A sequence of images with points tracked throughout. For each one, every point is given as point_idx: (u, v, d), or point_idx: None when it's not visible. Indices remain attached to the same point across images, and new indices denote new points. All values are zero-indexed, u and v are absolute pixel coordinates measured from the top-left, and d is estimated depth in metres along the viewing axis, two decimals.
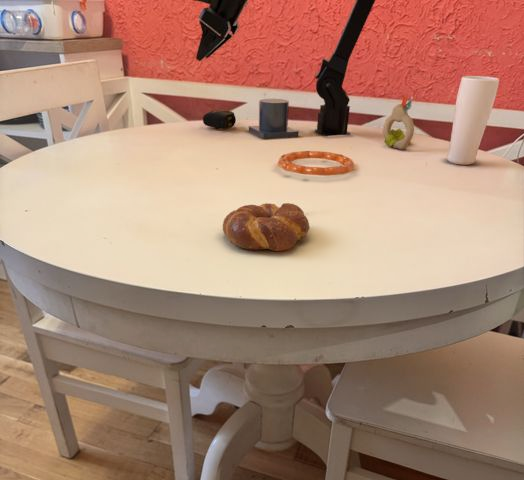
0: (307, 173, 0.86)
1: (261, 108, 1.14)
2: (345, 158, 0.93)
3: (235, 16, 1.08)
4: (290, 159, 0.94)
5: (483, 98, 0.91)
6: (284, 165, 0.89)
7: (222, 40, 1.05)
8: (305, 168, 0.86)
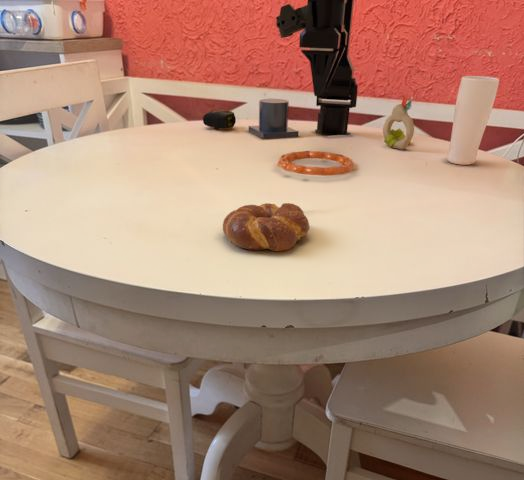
0: (307, 173, 0.86)
1: (261, 108, 1.14)
2: (345, 158, 0.93)
3: (339, 20, 0.83)
4: (290, 159, 0.94)
5: (484, 98, 0.91)
6: (284, 165, 0.89)
7: (336, 54, 0.81)
8: (305, 168, 0.86)
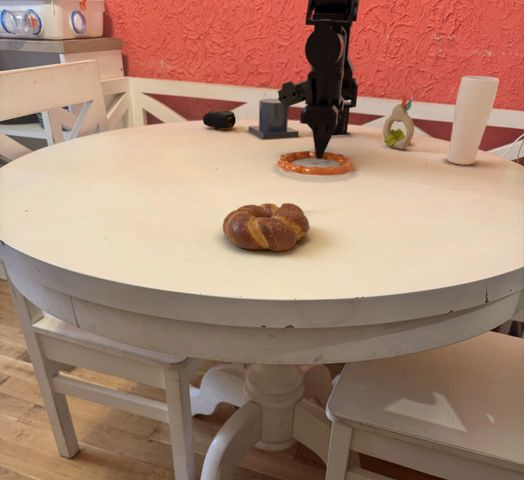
0: (306, 173, 0.86)
1: (261, 108, 1.14)
2: (345, 158, 0.93)
3: (337, 94, 0.89)
4: (290, 159, 0.94)
5: (483, 98, 0.91)
6: (284, 164, 0.89)
7: (336, 125, 0.90)
8: (304, 168, 0.86)
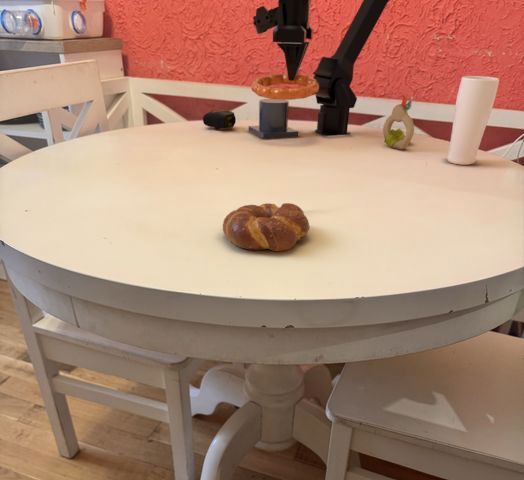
0: (274, 94, 0.99)
1: (261, 108, 1.14)
2: (312, 80, 1.04)
3: (305, 19, 1.01)
4: (264, 82, 1.06)
5: (483, 98, 0.91)
6: (256, 87, 1.02)
7: (305, 46, 1.02)
8: (272, 89, 0.99)
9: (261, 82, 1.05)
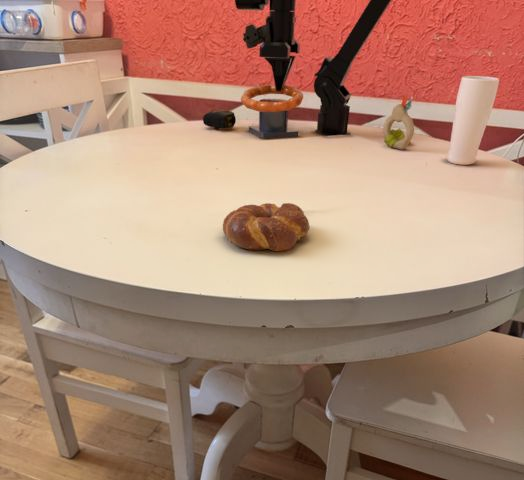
0: (260, 107, 1.10)
1: None
2: (296, 91, 1.14)
3: (290, 35, 1.11)
4: (253, 93, 1.16)
5: (483, 98, 0.91)
6: (244, 100, 1.12)
7: (290, 60, 1.12)
8: (258, 103, 1.10)
9: (250, 94, 1.15)
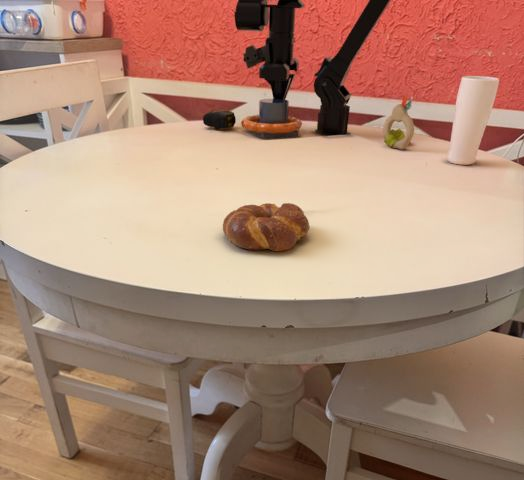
0: (260, 128, 1.13)
1: (261, 108, 1.14)
2: (295, 119, 1.18)
3: (289, 56, 1.13)
4: (253, 120, 1.20)
5: (483, 98, 0.91)
6: (245, 122, 1.15)
7: (289, 80, 1.14)
8: (258, 124, 1.13)
9: (250, 119, 1.19)
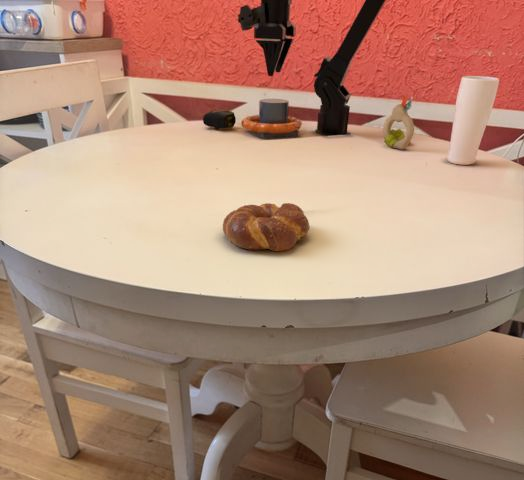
0: (260, 128, 1.13)
1: (261, 108, 1.14)
2: (295, 119, 1.18)
3: (285, 17, 1.09)
4: (253, 120, 1.20)
5: (483, 98, 0.91)
6: (245, 122, 1.15)
7: (282, 43, 1.07)
8: (258, 124, 1.13)
9: (250, 119, 1.19)
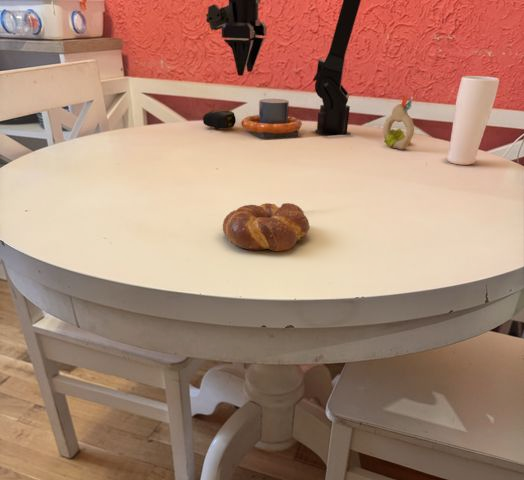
0: (260, 128, 1.13)
1: (261, 108, 1.14)
2: (295, 119, 1.18)
3: (254, 16, 1.09)
4: (253, 120, 1.20)
5: (483, 98, 0.91)
6: (245, 122, 1.15)
7: (250, 42, 1.07)
8: (258, 124, 1.13)
9: (250, 119, 1.19)
